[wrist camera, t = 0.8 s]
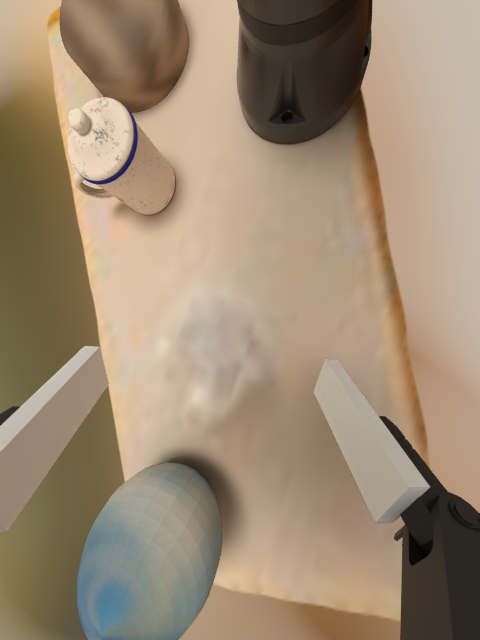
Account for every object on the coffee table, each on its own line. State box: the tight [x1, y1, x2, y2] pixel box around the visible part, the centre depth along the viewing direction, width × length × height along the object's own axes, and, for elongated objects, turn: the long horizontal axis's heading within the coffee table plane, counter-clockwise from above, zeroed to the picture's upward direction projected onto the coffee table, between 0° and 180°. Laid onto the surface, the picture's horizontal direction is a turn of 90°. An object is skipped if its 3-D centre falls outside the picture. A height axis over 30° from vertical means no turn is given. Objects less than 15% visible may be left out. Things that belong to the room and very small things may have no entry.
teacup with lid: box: [67, 97, 175, 215], centre depth 26 cm, size 12×9×12 cm
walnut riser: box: [60, 0, 189, 113], centre depth 29 cm, size 16×16×6 cm
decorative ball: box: [77, 462, 222, 640], centre depth 24 cm, size 15×15×15 cm
